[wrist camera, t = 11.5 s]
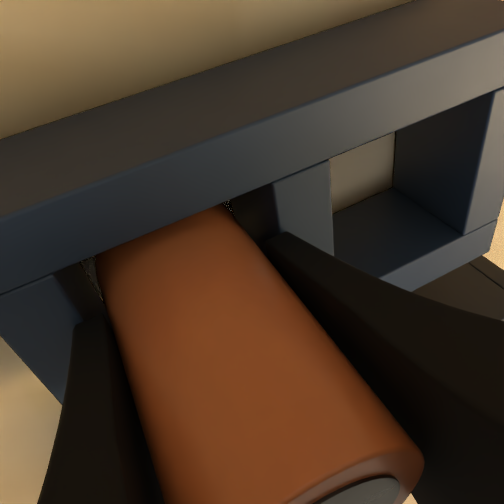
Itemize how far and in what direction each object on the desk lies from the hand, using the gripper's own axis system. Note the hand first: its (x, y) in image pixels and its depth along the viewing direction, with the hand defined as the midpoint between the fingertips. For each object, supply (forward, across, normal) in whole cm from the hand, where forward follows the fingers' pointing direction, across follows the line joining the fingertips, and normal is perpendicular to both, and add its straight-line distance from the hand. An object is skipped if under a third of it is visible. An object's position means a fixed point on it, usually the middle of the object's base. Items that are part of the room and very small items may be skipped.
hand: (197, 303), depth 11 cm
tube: (+2, 0, 0) cm, 2 cm away
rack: (+3, -3, 0) cm, 5 cm away
